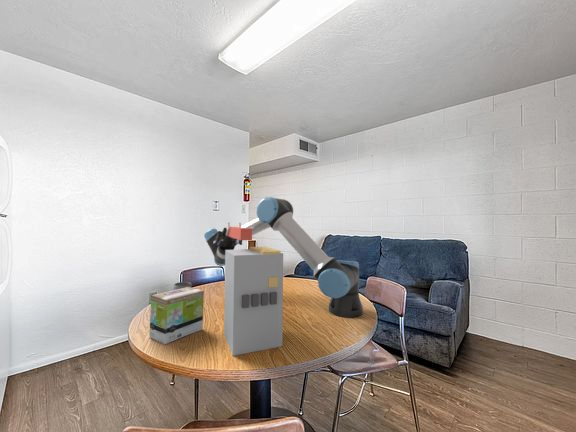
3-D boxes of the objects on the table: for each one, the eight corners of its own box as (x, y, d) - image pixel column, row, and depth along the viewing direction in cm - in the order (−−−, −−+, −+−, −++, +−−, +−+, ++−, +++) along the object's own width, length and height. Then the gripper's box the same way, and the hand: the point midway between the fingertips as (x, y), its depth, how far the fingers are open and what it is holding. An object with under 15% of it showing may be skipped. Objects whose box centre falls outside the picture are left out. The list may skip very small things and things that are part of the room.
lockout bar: (226, 235, 113) (226, 226, 113) (235, 235, 115) (235, 226, 115) (240, 240, 87) (240, 228, 87) (252, 240, 89) (252, 228, 89)
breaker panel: (224, 334, 91) (225, 250, 92) (266, 327, 98) (267, 248, 98) (233, 357, 76) (235, 256, 76) (283, 347, 82) (284, 253, 83)
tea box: (166, 345, 83) (167, 299, 83) (148, 338, 88) (149, 294, 88) (203, 329, 95) (204, 289, 96) (186, 323, 101) (187, 285, 101)
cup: (195, 305, 122) (195, 284, 122) (173, 309, 117) (174, 287, 117) (190, 300, 130) (190, 280, 130) (170, 303, 124) (170, 283, 125)
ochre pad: (249, 249, 96) (249, 247, 96) (265, 248, 98) (265, 246, 98) (262, 254, 81) (262, 251, 81) (280, 253, 83) (280, 251, 83)
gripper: (243, 254, 127) (255, 233, 108) (207, 256, 120) (213, 233, 102) (242, 241, 130) (253, 218, 112) (207, 242, 124) (213, 217, 105)
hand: (234, 225), depth 107 cm, fingers closed on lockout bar, 4 cm apart
